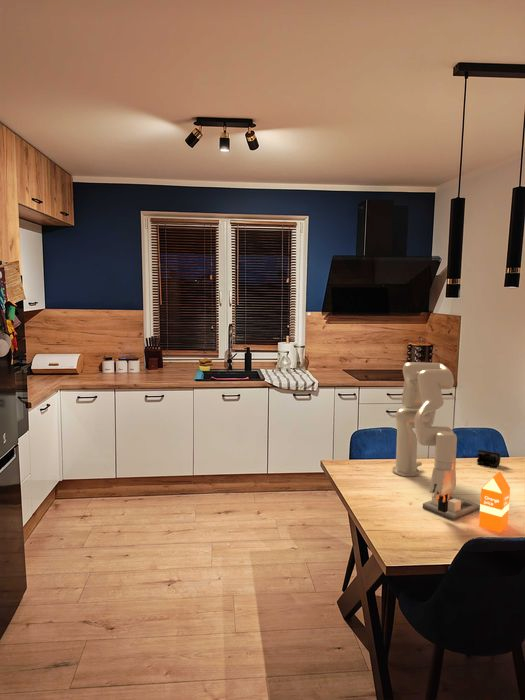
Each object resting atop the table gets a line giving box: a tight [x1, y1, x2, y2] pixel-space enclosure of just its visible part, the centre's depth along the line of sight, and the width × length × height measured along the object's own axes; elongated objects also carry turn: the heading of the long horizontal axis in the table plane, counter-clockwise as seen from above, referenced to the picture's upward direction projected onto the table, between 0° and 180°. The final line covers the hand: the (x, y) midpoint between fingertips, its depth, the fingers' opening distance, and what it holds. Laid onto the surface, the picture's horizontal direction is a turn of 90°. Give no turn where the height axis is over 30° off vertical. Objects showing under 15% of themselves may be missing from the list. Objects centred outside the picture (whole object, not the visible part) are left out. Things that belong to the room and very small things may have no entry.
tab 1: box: [431, 494, 438, 506], centre depth 205 cm, size 4×3×4 cm
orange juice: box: [478, 471, 511, 533], centre depth 189 cm, size 8×9×20 cm
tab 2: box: [448, 498, 461, 513], centre depth 199 cm, size 4×3×4 cm
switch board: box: [422, 493, 480, 522], centre depth 204 cm, size 18×14×2 cm
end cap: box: [476, 449, 502, 469], centre depth 258 cm, size 10×7×7 cm
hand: (442, 510), depth 195 cm, fingers closed
